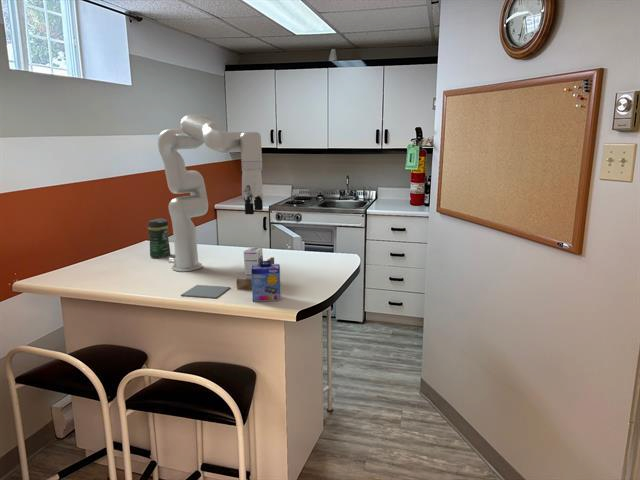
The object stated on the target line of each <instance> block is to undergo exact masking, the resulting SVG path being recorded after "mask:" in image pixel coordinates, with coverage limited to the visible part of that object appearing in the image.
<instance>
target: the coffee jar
mask: <svg viewBox="0 0 640 480" xmlns="http://www.w3.org/2000/svg"><path fill="white" fill-rule="evenodd" d="M168 223H169V222H168V219H166V218H161V217H160V218H155V219H151V220H149V221H148V222H147V230H148V235H149V256H150V258H153V259H161V258H162V257H163V258H165V256H166V257H168V256H170V255H171V248H170V239H169V234H168V233H169V231H168V230H169V224H168Z"/></svg>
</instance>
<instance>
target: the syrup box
mask: <svg viewBox="0 0 640 480" xmlns="http://www.w3.org/2000/svg"><path fill="white" fill-rule="evenodd" d="M263 253H264V252H263V248H262V247H248V248H247V249H245V250H243V263H244V265H243V266H244V276H245V277H244V279H252V272H251V269H252V265H260V261H264V257H263V256H264V254H263ZM262 264H263V263H262Z"/></svg>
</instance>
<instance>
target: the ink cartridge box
mask: <svg viewBox="0 0 640 480" xmlns="http://www.w3.org/2000/svg"><path fill="white" fill-rule="evenodd" d="M264 262H267V263H269V264H262V263H264ZM280 267H281V265H280V263H274V264H271V262H270V261H267V260H263V261H260V265H252V269H251V272H252V290H251V291H252V292H251V293H252V302H253V303H254V302H256V303H257V302H259V303H260V302H280V301H281V298H282V297H281V296H282V294H281V293H282V291H281V268H280ZM279 300H280V301H279Z"/></svg>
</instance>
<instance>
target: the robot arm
mask: <svg viewBox="0 0 640 480" xmlns="http://www.w3.org/2000/svg"><path fill="white" fill-rule="evenodd" d="M179 124H180V128H168V129H165V130H162V131H161V132H160V133H159V135H158V137H157V138H158V139H157V147H158V151H159V154H160V157H161V160H162V162H163V166H164V172H165V173H164V174H165V177H166V178H165V179H166V182H167V187H168V189H169V191H170V192H171V194H175V195H177V194H178V195H179V194H181V195H182V194H189V193H190V195H186V196H185V195H183V196H178V197H175V198H173V199H171V200H170V202H169V203H168V213H169V215H170V220H171V225H172V226H171V227H172V233H173V234H172V235H173V242H174V243H173V245H174V257H169V258H168V264H173V265H172V270H173V271H175V272H192V271H197V270H199V269H201V268H202V267H203V263H201V262H199V256H198V243H197V242H198V240H197V230H196V226H195V224H194V223H193V220H192V218H195V217H202V216H204V215H206V213H208V210H209V201H208V195H207V189H206V183H205V180H204V177H203V175H202V174H201V173H200V172H199V171H197V170H191V169H190V170H187V168H186V163H185V160H184V158H183V156H182V155H181V153H180V152H179V151H178V150H196V149H198V148H200V147H201V146H203V144H204V145H205V146H206V147H207V148H209V149H211V150H213V151H216V152H219V153H223V154H227V153H240V157H241V158H240V159H241V160H240V161H241V172H242V174H241V195H242V198H243V202H244V214H245V215H254V214H255V211H263V210H264V208H263V207H264V206H263V178H262V171H263V153H262V152H263V151H262V136H261V134H260V132H258V131H222V130H221V129H220V127H219V124H218V123H217V122H216V120H215V119H214V118H213V117H212V116H210V115H207V114H188V115H187V114H186V115H185V116H183V118H182V119H181V121H180V123H179Z"/></svg>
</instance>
